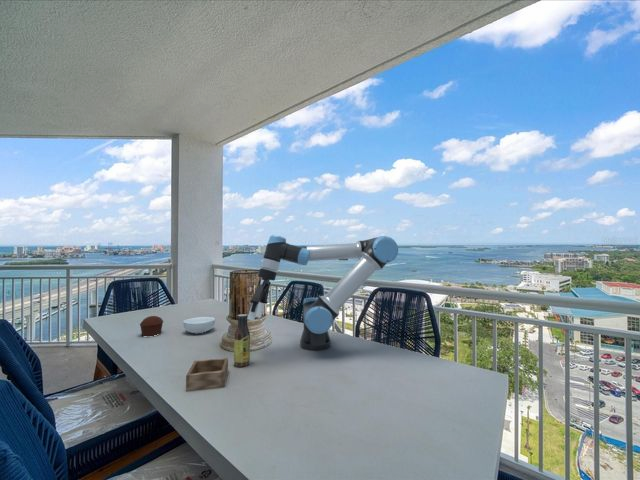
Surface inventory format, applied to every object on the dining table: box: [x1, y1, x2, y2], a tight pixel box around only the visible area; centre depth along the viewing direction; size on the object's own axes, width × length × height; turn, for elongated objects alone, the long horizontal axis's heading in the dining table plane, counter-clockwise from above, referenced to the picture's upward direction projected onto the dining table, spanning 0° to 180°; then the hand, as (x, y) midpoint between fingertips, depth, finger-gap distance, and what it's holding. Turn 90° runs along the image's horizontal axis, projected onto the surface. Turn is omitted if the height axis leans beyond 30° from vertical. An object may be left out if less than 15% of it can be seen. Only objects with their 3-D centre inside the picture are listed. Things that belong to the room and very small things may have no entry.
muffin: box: [139, 315, 164, 337], centre depth 157 cm, size 12×11×10 cm
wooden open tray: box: [185, 357, 229, 392], centre depth 101 cm, size 12×13×5 cm
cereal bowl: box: [182, 316, 216, 335], centre depth 162 cm, size 17×17×7 cm
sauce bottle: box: [233, 313, 251, 368], centre depth 115 cm, size 6×6×20 cm
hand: (254, 318), depth 119 cm, fingers open, 13 cm apart
